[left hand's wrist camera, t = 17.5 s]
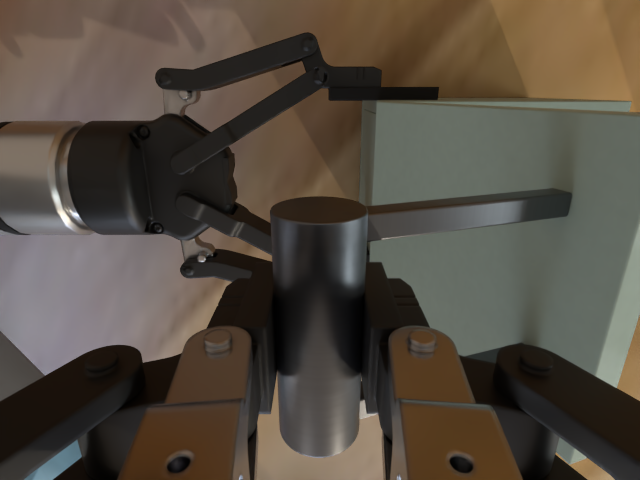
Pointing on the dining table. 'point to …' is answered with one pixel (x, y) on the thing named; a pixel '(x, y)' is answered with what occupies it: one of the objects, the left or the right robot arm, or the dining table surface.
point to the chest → (371, 106)
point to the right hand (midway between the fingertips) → (424, 178)
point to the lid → (463, 251)
